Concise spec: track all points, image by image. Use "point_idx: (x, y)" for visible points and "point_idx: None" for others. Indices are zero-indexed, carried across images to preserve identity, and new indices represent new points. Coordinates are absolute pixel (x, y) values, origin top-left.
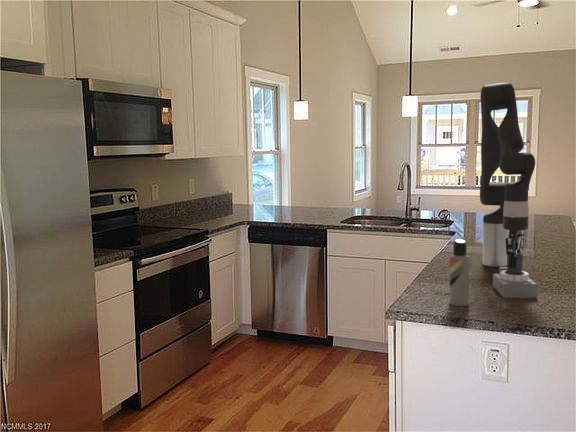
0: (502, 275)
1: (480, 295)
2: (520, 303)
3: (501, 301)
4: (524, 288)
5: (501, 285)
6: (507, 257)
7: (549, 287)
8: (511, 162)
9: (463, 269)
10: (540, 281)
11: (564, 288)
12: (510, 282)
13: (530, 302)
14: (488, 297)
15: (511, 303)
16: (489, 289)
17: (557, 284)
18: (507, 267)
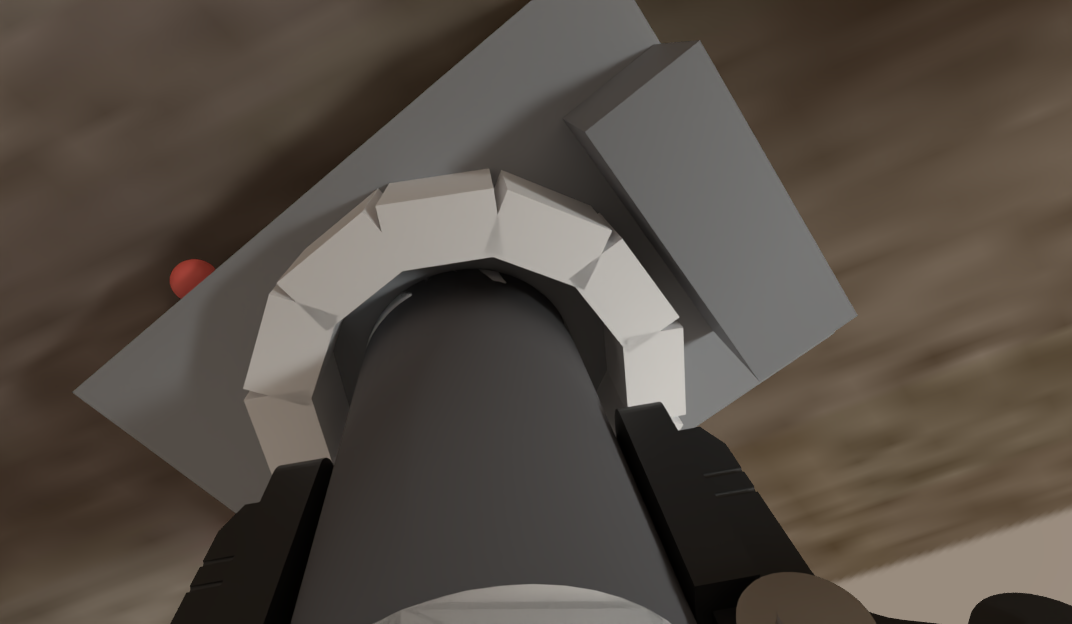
0: (275, 289)
1: (18, 45)
2: (123, 497)
3: (19, 352)
4: None
5: (177, 295)
6: (381, 507)
7: (842, 450)
8: None
9: None
10: (1050, 309)
11: (861, 536)
12: (229, 414)
13: None
14: (30, 173)
15: (46, 446)
16: (394, 4)
17: (981, 455)
18: (373, 384)
